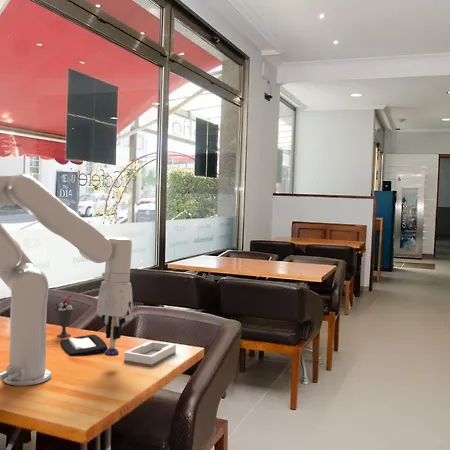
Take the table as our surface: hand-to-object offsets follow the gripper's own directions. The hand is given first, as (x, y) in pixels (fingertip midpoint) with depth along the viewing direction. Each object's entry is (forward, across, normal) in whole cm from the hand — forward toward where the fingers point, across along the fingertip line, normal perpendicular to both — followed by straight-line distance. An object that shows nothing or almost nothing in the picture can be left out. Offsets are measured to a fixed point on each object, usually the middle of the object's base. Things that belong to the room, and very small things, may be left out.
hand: (113, 337), depth 158 cm
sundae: (+10, -37, +23) cm, 45 cm away
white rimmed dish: (+9, +5, +15) cm, 18 cm away
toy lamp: (+5, 0, 0) cm, 5 cm away
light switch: (+10, -22, +15) cm, 28 cm away
